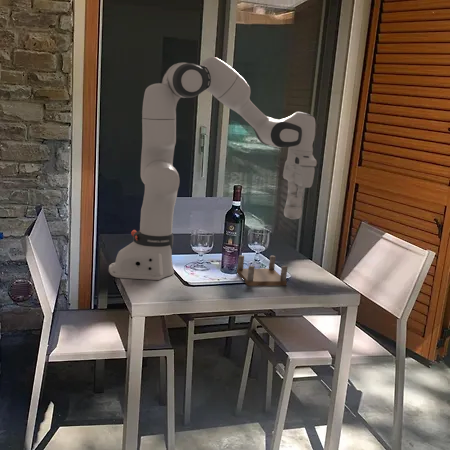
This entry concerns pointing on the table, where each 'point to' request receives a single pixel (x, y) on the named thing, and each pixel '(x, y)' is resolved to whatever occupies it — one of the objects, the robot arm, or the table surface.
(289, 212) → the plastic bottle
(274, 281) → the peg stand
